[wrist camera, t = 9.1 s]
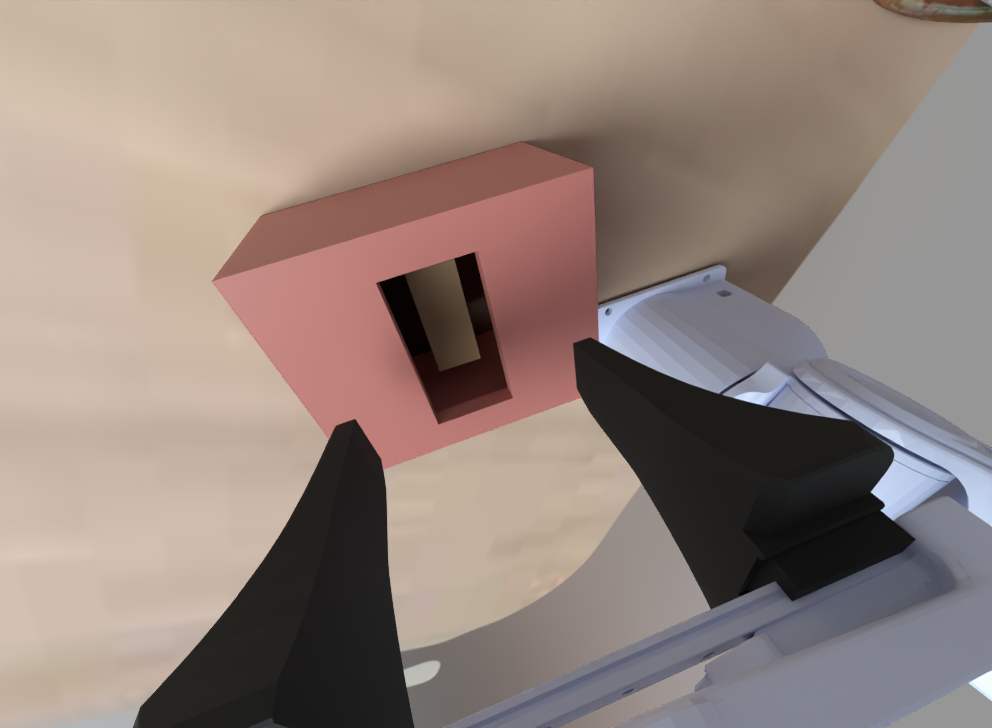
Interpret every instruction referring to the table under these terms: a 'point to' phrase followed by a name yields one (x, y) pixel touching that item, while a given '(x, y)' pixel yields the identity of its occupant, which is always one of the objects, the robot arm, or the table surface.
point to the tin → (943, 10)
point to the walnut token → (444, 314)
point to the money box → (412, 246)
